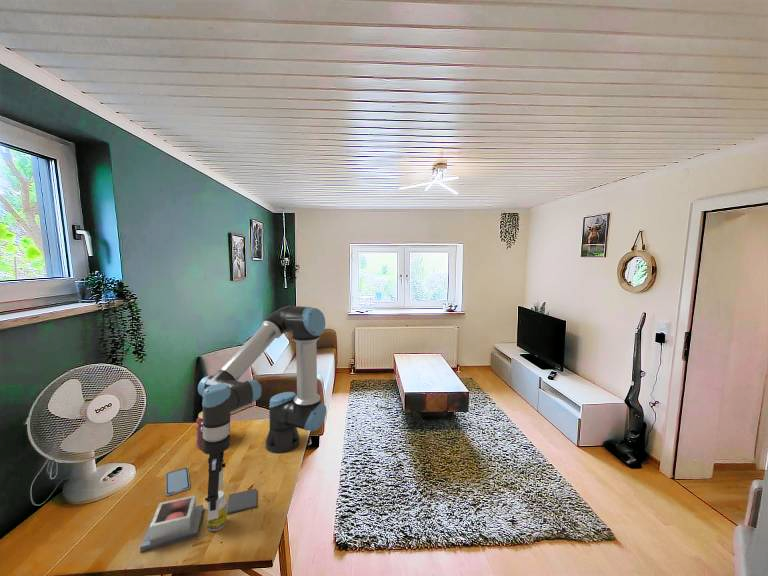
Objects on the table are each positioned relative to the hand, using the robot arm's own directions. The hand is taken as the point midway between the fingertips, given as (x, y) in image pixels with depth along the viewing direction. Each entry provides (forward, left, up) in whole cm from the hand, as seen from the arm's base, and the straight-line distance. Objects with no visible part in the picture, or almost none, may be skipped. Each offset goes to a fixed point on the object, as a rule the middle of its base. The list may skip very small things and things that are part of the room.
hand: (215, 503), depth 98 cm
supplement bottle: (0, 0, -8) cm, 8 cm away
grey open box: (+12, -3, -7) cm, 14 cm away
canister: (+7, -53, -8) cm, 54 cm away
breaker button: (+12, -3, -5) cm, 13 cm away
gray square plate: (-7, -8, -7) cm, 13 cm away
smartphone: (+16, -28, -8) cm, 33 cm away
